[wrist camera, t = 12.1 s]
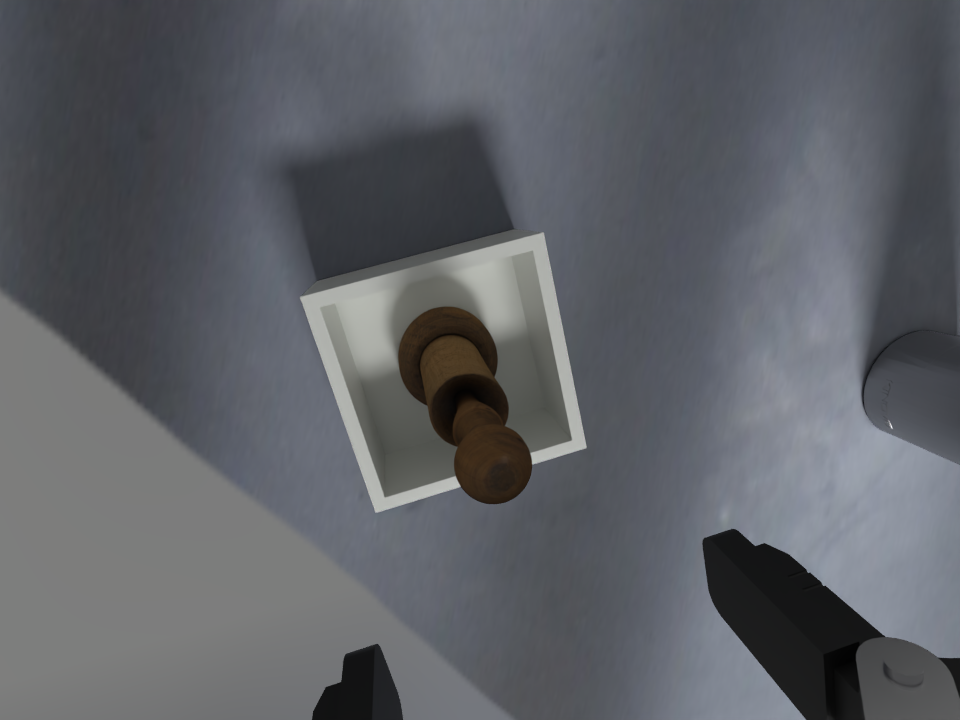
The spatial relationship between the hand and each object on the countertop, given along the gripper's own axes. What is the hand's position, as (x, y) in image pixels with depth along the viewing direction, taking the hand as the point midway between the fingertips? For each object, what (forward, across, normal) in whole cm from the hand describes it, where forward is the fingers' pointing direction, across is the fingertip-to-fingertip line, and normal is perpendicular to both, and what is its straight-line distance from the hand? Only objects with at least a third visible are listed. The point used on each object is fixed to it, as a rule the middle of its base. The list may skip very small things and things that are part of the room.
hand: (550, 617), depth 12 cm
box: (+26, 0, 0) cm, 26 cm away
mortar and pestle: (+25, 0, 0) cm, 25 cm away
